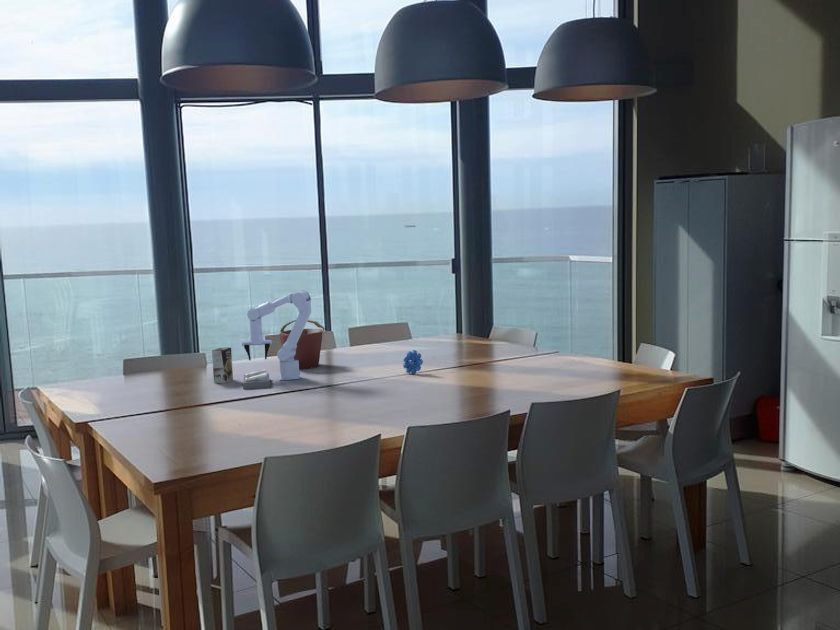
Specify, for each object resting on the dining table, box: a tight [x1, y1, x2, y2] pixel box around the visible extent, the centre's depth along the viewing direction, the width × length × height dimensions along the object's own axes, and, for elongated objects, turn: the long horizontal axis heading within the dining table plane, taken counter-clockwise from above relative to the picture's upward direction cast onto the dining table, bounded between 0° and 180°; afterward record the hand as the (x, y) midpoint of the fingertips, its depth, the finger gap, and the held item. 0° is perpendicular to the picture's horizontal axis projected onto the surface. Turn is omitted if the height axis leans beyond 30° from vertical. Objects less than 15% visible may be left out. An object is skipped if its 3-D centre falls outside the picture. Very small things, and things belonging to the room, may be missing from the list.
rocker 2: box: [245, 372, 267, 381], centre depth 391 cm, size 10×3×1 cm, turn 100°
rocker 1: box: [245, 368, 267, 377], centre depth 402 cm, size 10×3×1 cm, turn 100°
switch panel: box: [242, 372, 271, 390], centre depth 397 cm, size 12×20×3 cm, turn 11°
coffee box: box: [211, 347, 234, 384], centre depth 407 cm, size 9×6×16 cm
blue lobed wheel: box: [402, 349, 424, 375], centre depth 408 cm, size 12×7×12 cm, turn 55°
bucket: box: [279, 319, 325, 370], centre depth 439 cm, size 24×22×25 cm
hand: (257, 359), depth 410 cm, fingers open, 7 cm apart
